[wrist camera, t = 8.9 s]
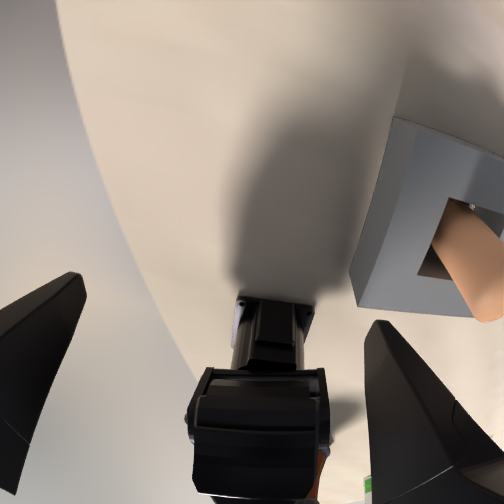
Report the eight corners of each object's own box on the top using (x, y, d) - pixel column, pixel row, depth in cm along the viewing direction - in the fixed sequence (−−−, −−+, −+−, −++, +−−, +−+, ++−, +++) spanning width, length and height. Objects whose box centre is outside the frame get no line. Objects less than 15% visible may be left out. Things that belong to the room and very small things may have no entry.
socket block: (466, 288, 23) (483, 318, 20) (348, 271, 23) (357, 307, 20) (519, 165, 17) (549, 186, 13) (393, 116, 17) (417, 129, 13)
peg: (452, 243, 21) (504, 323, 14) (411, 234, 21) (459, 320, 14) (470, 198, 19) (537, 268, 11) (429, 185, 19) (495, 258, 11)
